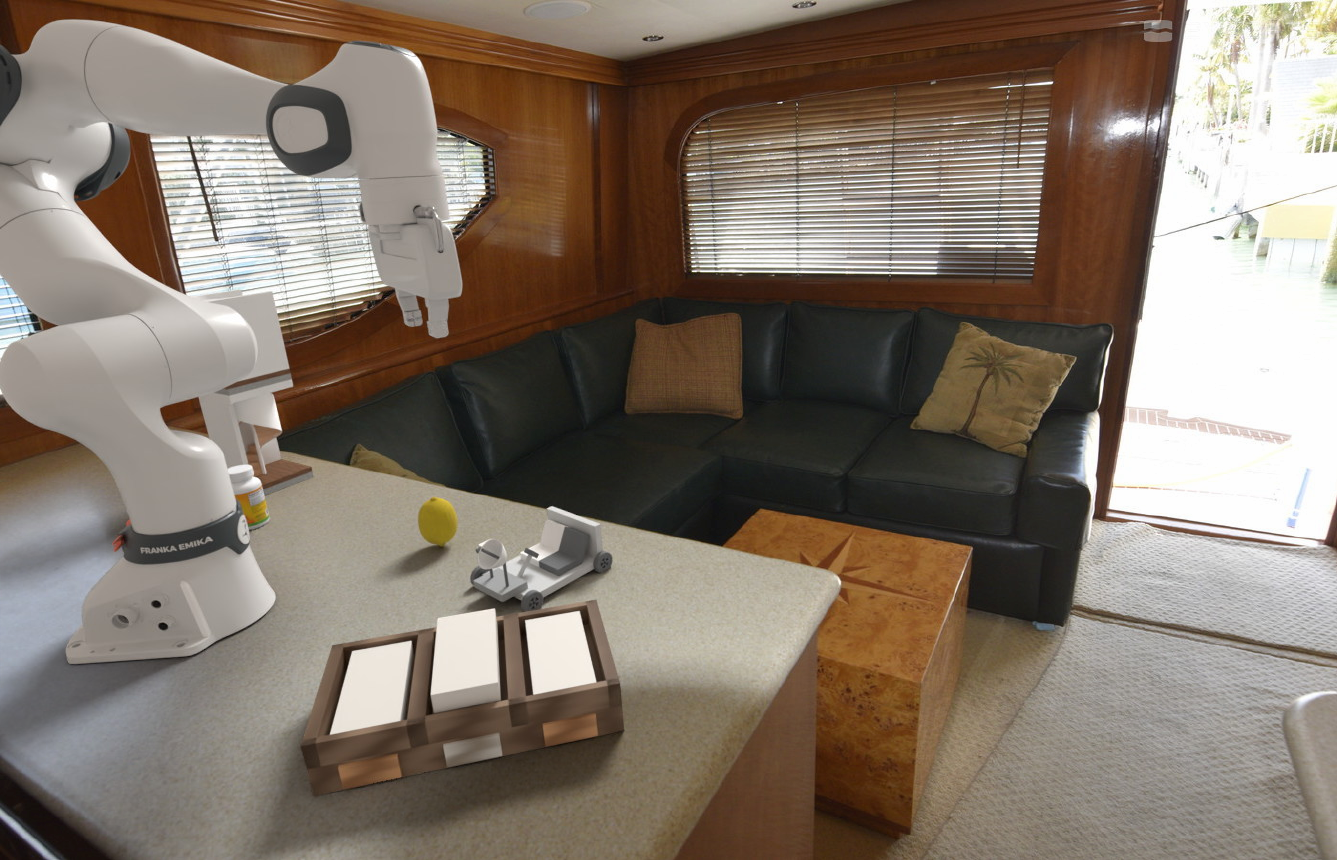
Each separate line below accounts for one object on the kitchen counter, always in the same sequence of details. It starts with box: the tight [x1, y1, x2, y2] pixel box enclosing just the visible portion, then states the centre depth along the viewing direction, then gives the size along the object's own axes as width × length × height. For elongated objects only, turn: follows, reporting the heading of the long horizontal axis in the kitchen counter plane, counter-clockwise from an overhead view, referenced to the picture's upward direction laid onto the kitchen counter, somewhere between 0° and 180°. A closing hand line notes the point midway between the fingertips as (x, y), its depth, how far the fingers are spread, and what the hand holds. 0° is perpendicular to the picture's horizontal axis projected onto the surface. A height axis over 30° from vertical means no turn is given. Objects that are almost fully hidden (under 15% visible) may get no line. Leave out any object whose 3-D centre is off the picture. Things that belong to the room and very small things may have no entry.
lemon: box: [417, 496, 458, 547], centre depth 110 cm, size 6×6×8 cm
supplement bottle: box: [228, 465, 271, 531], centre depth 121 cm, size 5×5×10 cm
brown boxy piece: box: [299, 599, 625, 797], centre depth 76 cm, size 28×16×6 cm, turn 103°
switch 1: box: [330, 641, 415, 735], centre depth 73 cm, size 6×13×2 cm, turn 14°
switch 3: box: [525, 611, 596, 695], centre depth 77 cm, size 6×13×2 cm, turn 13°
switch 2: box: [431, 608, 501, 713], centre depth 75 cm, size 6×13×2 cm, turn 13°
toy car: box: [469, 505, 614, 612], centre depth 99 cm, size 18×10×12 cm
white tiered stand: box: [191, 288, 315, 496], centre depth 134 cm, size 11×11×35 cm
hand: (426, 330), depth 86 cm, fingers open, 8 cm apart
